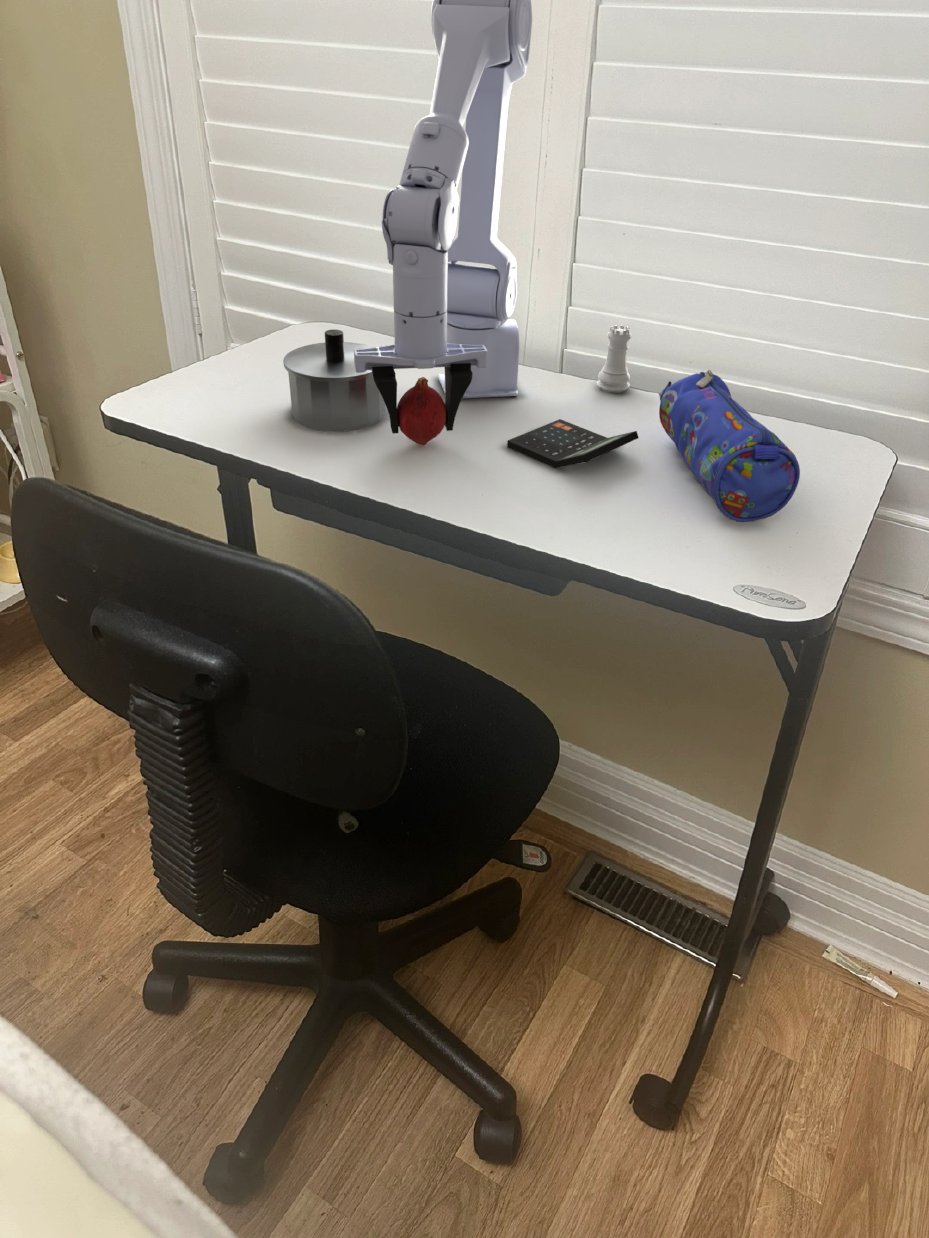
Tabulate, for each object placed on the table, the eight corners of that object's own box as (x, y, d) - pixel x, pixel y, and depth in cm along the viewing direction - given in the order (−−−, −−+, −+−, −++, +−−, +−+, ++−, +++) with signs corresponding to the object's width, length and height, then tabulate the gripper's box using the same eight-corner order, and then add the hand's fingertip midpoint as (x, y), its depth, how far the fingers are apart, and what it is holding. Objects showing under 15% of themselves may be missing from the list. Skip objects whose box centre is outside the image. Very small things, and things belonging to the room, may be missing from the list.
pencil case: (649, 439, 108) (661, 361, 102) (719, 437, 109) (734, 359, 103) (710, 530, 90) (728, 442, 85) (792, 527, 91) (816, 439, 85)
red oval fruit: (440, 457, 102) (440, 390, 98) (391, 452, 103) (389, 385, 99) (451, 437, 107) (452, 371, 103) (404, 432, 108) (403, 367, 103)
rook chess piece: (635, 385, 122) (643, 326, 117) (621, 396, 119) (629, 335, 114) (605, 378, 124) (611, 320, 119) (590, 388, 121) (597, 329, 116)
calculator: (559, 425, 111) (561, 402, 109) (635, 456, 104) (639, 432, 102) (507, 447, 105) (508, 423, 103) (584, 481, 99) (587, 455, 97)
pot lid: (382, 348, 115) (381, 314, 112) (392, 384, 105) (391, 348, 102) (283, 352, 113) (280, 317, 110) (284, 388, 103) (280, 351, 101)
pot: (380, 394, 118) (378, 345, 114) (389, 429, 109) (387, 378, 105) (291, 397, 116) (287, 348, 112) (293, 434, 107) (288, 382, 103)
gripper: (355, 323, 92) (361, 446, 100) (494, 319, 94) (489, 439, 102) (350, 303, 98) (356, 421, 105) (482, 299, 100) (478, 415, 108)
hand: (421, 428), depth 104 cm, fingers closed on red oval fruit, 6 cm apart
